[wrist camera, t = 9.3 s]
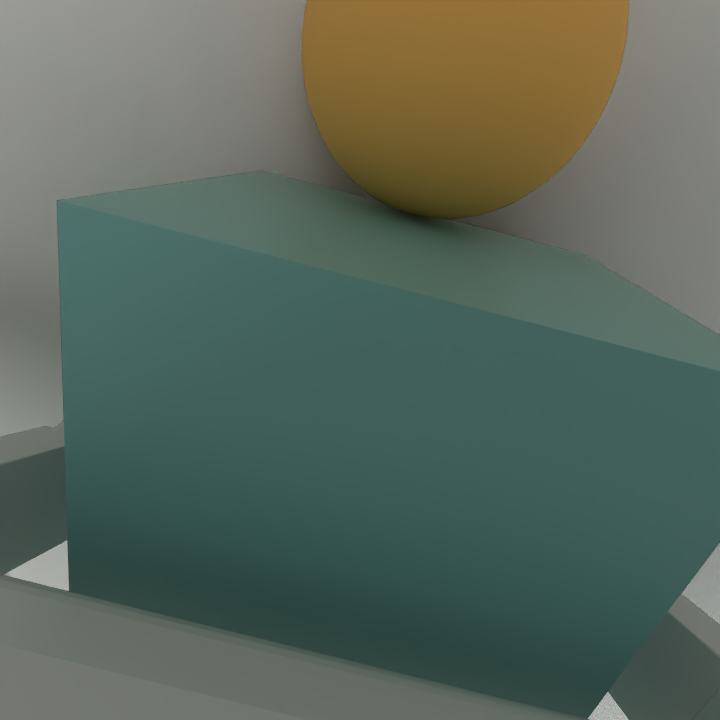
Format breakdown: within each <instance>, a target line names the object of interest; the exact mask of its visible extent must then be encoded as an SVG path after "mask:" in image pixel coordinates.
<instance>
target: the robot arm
mask: <svg viewBox="0 0 720 720" xmlns="http://www.w3.org/2000/svg"><path fill="white" fill-rule="evenodd" d="M66 540H68V538H67V506H66V475H65V443H64V421H62V422H61V423H60V424H58V425H57V426H56V427H54V428H51V427H47V426H43V427H39V428H35V429H31V430H27V431H22V432H18V433H14V434H10V435H6V436H1V437H0V720H588V719H584V718H580V717H576V716H572V715H568V714H564V713H560V712H556V711H552V710H548V709H544V708H540V707H536V706H532V705H528V704H524V703H520V702H516V701H511V700H507V699H503V698H499V697H495V696H491V695H487V694H483V693H479V692H475V691H471V690H467V689H463V688H459V687H455V686H451V685H447V684H443V683H439V682H435V681H431V680H427V679H423V678H418V677H414V676H410V675H406V674H402V673H398V672H394V671H390V670H386V669H382V668H378V667H374V666H370V665H366V664H362V663H358V662H354V661H350V660H346V659H342V658H338V657H334V656H330V655H326V654H322V653H318V652H313V651H309V650H305V649H301V648H297V647H293V646H289V645H285V644H281V643H277V642H273V641H269V640H265V639H261V638H257V637H253V636H249V635H245V634H240V633H236V632H232V631H228V630H224V629H220V628H216V627H212V626H208V625H204V624H200V623H196V622H191V621H187V620H183V619H179V618H175V617H171V616H167V615H163V614H159V613H155V612H151V611H146V610H142V609H138V608H134V607H130V606H126V605H122V604H118V603H114V602H110V601H106V600H102V599H97V598H93V597H89V596H85V595H81V594H77V593H73V592H69V591H65V590H61V589H57V588H53V587H49V586H45V585H41V584H37V583H33V582H29V581H25V580H21V579H17V578H13V577H9V576H5V575H3V574H5V573H7V572H9V571H11V570H12V569H14V568H16V567H18V566H20V565H22V564H24V563H25V562H27V561H29V560H31V559H33V558H35V557H37V556H38V555H40V554H42V553H44V552H46V551H48V550H50V549H51V548H53V547H55V546H57V545H59V544H61V543H63V542H64V541H66ZM608 692H609V694H610V695H611V696H612V698H613V699H614V700H615V702H616V703H617V704H618V706H619V707H620V708H621V710H622V711H623V712H624V714H625V715H626V716H627V718H628V719H629V720H720V624H718V623H717V622H716V621H715V620H713V619H712V618H711V617H710V616H709V615H707V614H706V613H705V612H704V611H702V610H701V609H700V608H699V607H697V606H696V605H695V604H694V603H693V602H691V601H690V600H689V599H688V598H686V597H685V596H684V595H683V594H682V593H681V595H680V596H679V597H678V599H677V600H676V601H675V603H674V604H673V605H672V607H671V608H670V609H669V611H668V612H667V613H666V615H665V616H664V617H663V619H662V620H661V621H660V623H659V624H658V625H657V627H656V628H655V629H654V631H653V632H652V633H651V635H650V636H649V637H648V639H647V640H646V641H645V643H644V644H643V645H642V647H641V648H640V649H639V651H638V652H637V653H636V655H635V656H634V657H633V659H632V660H631V661H630V663H629V664H628V665H627V667H626V668H625V669H624V671H623V672H622V673H621V675H620V676H619V677H618V679H617V680H616V681H615V683H614V684H613V685H612V687H611V688H610V689H609V691H608Z"/></svg>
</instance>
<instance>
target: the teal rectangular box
mask: <svg viewBox="0 0 720 720" xmlns="http://www.w3.org/2000/svg"><path fill="white" fill-rule="evenodd" d="M57 223H58V254H59V286H60V317H61V349H62V380H63V412H64V443H65V475H66V506H67V538H68V569H69V592H73V593H77V594H81V595H85V596H89V597H93V598H97V599H102V600H106V601H110V602H114V603H118V604H122V605H126V606H130V607H134V608H138V609H142V610H146V611H151V612H155V613H159V614H163V615H167V616H171V617H175V618H179V619H183V620H187V621H191V622H196V623H200V624H204V625H208V626H212V627H216V628H220V629H224V630H228V631H232V632H236V633H240V634H245V635H249V636H253V637H257V638H261V639H265V640H269V641H273V642H277V643H281V644H285V645H289V646H293V647H297V648H301V649H305V650H309V651H313V652H318V653H322V654H326V655H330V656H334V657H338V658H342V659H346V660H350V661H354V662H358V663H362V664H366V665H370V666H374V667H378V668H382V669H386V670H390V671H394V672H398V673H402V674H406V675H410V676H414V677H418V678H423V679H427V680H431V681H435V682H439V683H443V684H447V685H451V686H455V687H459V688H463V689H467V690H471V691H475V692H479V693H483V694H487V695H491V696H495V697H499V698H503V699H507V700H511V701H516V702H520V703H524V704H528V705H532V706H536V707H540V708H544V709H548V710H552V711H556V712H560V713H564V714H568V715H572V716H576V717H580V718H584V719H588V717H589V716H590V715H591V713H592V712H593V711H594V709H595V708H596V707H597V705H598V704H599V703H600V701H601V700H602V699H603V697H604V696H605V695H606V693H607V692H608V691H609V689H610V688H611V687H612V685H613V684H614V683H615V681H616V680H617V679H618V677H619V676H620V675H621V673H622V672H623V671H624V669H625V668H626V667H627V665H628V664H629V663H630V661H631V660H632V659H633V657H634V656H635V655H636V653H637V652H638V651H639V649H640V648H641V647H642V645H643V644H644V643H645V641H646V640H647V639H648V637H649V636H650V635H651V633H652V632H653V631H654V629H655V628H656V627H657V625H658V624H659V623H660V621H661V620H662V619H663V617H664V616H665V615H666V613H667V612H668V611H669V609H670V608H671V607H672V605H673V604H674V603H675V601H676V600H677V599H678V597H679V596H680V595H681V593H682V592H683V591H684V589H685V588H686V587H687V585H688V584H689V583H690V581H691V580H692V579H693V577H694V576H695V575H696V573H697V572H698V571H699V569H700V568H701V567H702V565H703V564H704V563H705V561H706V560H707V559H708V557H709V556H710V555H711V553H712V552H713V551H714V549H715V548H716V547H717V545H718V544H719V543H720V335H719V334H717V333H716V332H714V331H712V330H711V329H709V328H707V327H705V326H704V325H702V324H700V323H699V322H697V321H695V320H694V319H692V318H690V317H689V316H687V315H685V314H684V313H682V312H680V311H678V310H677V309H675V308H673V307H672V306H670V305H668V304H667V303H665V302H663V301H662V300H660V299H658V298H657V297H655V296H653V295H652V294H650V293H648V292H646V291H645V290H643V289H641V288H640V287H638V286H636V285H635V284H633V283H631V282H630V281H628V280H626V279H625V278H623V277H621V276H620V275H618V274H616V273H614V272H613V271H611V270H609V269H608V268H606V267H604V266H603V265H601V264H599V263H598V262H596V261H594V260H593V259H591V258H589V257H587V256H586V255H584V254H580V253H577V252H573V251H569V250H565V249H561V248H557V247H553V246H550V245H546V244H542V243H538V242H534V241H530V240H527V239H523V238H519V237H515V236H511V235H507V234H504V233H500V232H496V231H492V230H488V229H484V228H480V227H477V226H473V225H469V224H465V223H461V222H457V221H454V220H450V219H440V218H430V217H423V216H418V215H414V214H410V213H407V212H404V211H401V210H399V209H396V208H393V207H391V206H389V205H387V204H385V203H383V202H380V201H377V200H373V199H369V198H365V197H361V196H357V195H354V194H350V193H346V192H342V191H338V190H334V189H330V188H327V187H323V186H319V185H315V184H311V183H307V182H304V181H300V180H296V179H292V178H288V177H284V176H281V175H277V174H273V173H269V172H265V171H255V172H248V173H242V174H235V175H228V176H221V177H214V178H207V179H200V180H193V181H186V182H180V183H173V184H166V185H159V186H152V187H145V188H138V189H131V190H124V191H118V192H111V193H104V194H97V195H90V196H83V197H76V198H69V199H62V200H57Z"/></svg>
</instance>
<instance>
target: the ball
mask: <svg viewBox="0 0 720 720" xmlns="http://www.w3.org/2000/svg"><path fill="white" fill-rule="evenodd" d="M628 14H629V0H307V3H306V8H305V13H304V21H303V30H302V64H303V73H304V81H305V89H306V93H307V97H308V102H309V106H310V109H311V112H312V115H313V117H314V120H315V122H316V125H317V127H318V130H319V133H320V135H321V137H322V139H323V140H324V142H325V144H326V146H327V148H328V149H329V151H330V153H331V154H332V156H333V157H334V159H335V160H336V161H337V163H338V164H339V165H340V166H341V168H342V169H343V170H344V171H345V172H346V174H347V175H348V176H349V177H350V178H351V179H352V180H353V181H354V182H355V183H357V184H358V185H359V186H360V187H361V188H362V189H364V190H365V191H366V192H367V193H369V194H370V195H371V196H373V197H374V198H376V199H378V200H379V201H381V202H383V203H385V204H387V205H389V206H391V207H393V208H396V209H399V210H401V211H404V212H407V213H410V214H414V215H418V216H423V217H430V218H440V219H456V218H464V217H471V216H477V215H481V214H485V213H488V212H491V211H494V210H497V209H499V208H502V207H505V206H507V205H510V204H511V203H513V202H515V201H517V200H519V199H521V198H523V197H524V196H526V195H528V194H529V193H531V192H533V191H534V190H535V189H537V188H538V187H540V186H541V185H542V184H544V183H545V182H546V181H548V180H549V179H550V178H551V177H552V176H553V175H554V174H555V173H556V172H557V171H558V170H559V169H561V168H562V167H563V166H564V165H565V164H566V163H567V162H568V161H569V160H570V159H571V157H572V156H573V155H574V154H575V153H576V151H577V150H578V149H579V148H580V146H581V145H582V144H583V143H584V141H585V140H586V138H587V137H588V135H589V133H590V132H591V130H592V129H593V127H594V125H595V124H596V122H597V121H598V119H599V117H600V116H601V114H602V112H603V110H604V107H605V105H606V103H607V101H608V99H609V97H610V95H611V93H612V90H613V87H614V84H615V81H616V78H617V75H618V73H619V70H620V66H621V61H622V56H623V52H624V47H625V43H626V35H627V25H628Z"/></svg>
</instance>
